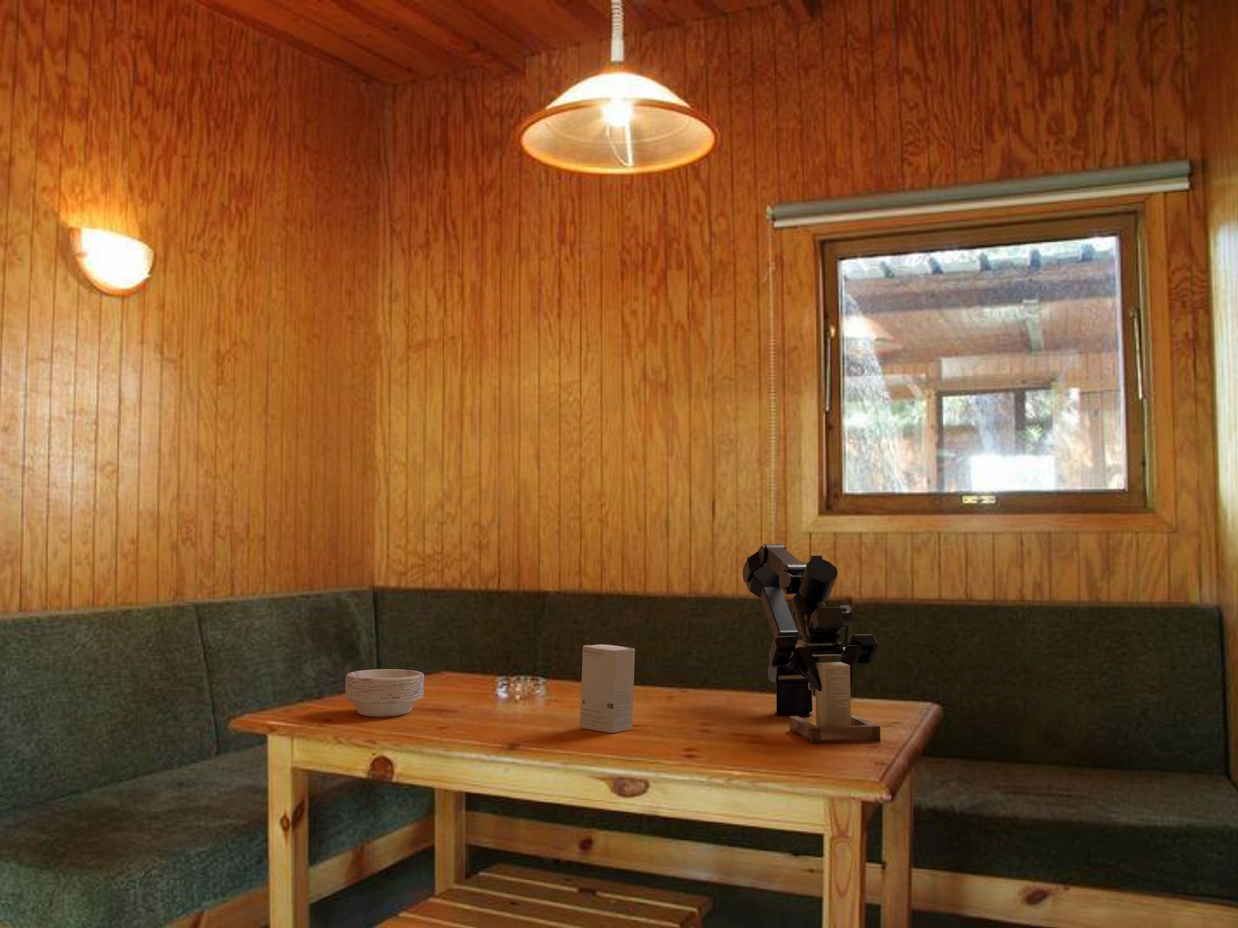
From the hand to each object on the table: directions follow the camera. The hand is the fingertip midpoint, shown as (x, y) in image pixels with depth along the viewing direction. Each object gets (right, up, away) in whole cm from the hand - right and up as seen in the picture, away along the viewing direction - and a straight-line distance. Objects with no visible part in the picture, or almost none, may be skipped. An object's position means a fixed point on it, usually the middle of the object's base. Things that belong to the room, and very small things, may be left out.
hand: (835, 689), depth 180 cm
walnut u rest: (0, -8, +1) cm, 8 cm away
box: (0, -7, +1) cm, 7 cm away
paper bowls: (-84, -11, +26) cm, 88 cm away
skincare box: (-39, -9, +8) cm, 41 cm away
